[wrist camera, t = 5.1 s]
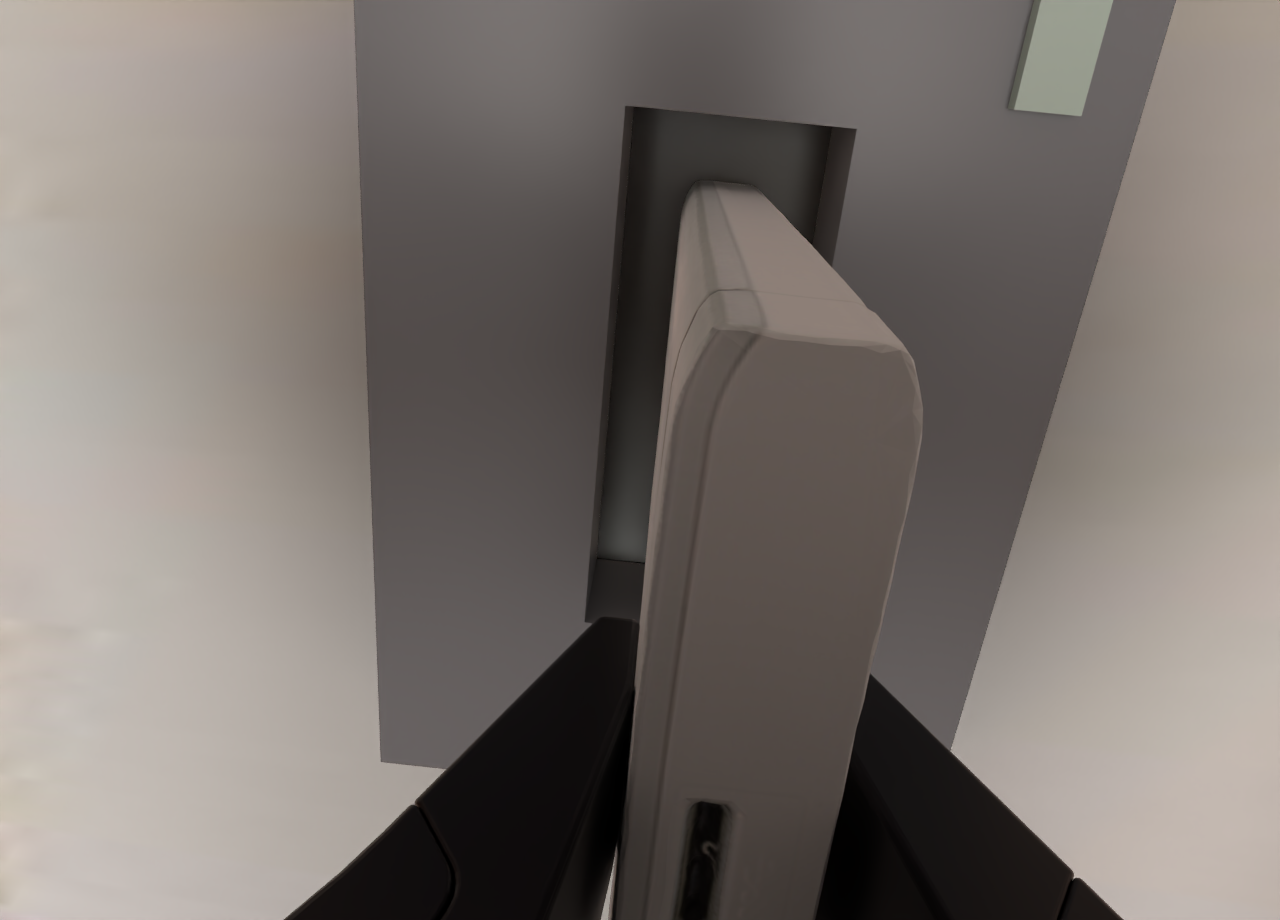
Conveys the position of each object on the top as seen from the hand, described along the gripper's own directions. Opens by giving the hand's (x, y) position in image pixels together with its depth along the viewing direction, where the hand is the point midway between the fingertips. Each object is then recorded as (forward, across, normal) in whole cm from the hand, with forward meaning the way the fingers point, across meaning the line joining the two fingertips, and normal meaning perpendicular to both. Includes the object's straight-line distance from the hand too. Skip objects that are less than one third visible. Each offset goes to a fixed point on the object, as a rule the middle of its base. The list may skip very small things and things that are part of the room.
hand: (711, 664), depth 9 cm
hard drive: (+10, 0, 0) cm, 10 cm away
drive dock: (+10, 0, 0) cm, 10 cm away
